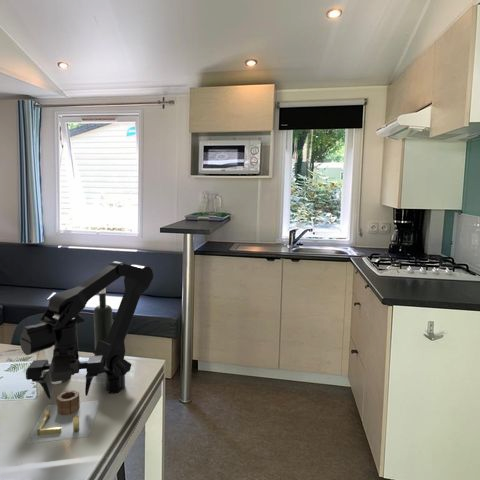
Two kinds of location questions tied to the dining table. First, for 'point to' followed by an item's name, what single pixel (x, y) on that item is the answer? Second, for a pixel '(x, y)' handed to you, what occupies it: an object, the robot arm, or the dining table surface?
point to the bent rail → (47, 430)
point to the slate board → (66, 423)
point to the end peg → (75, 423)
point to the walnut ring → (68, 402)
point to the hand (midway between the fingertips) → (68, 396)
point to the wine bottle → (102, 319)
